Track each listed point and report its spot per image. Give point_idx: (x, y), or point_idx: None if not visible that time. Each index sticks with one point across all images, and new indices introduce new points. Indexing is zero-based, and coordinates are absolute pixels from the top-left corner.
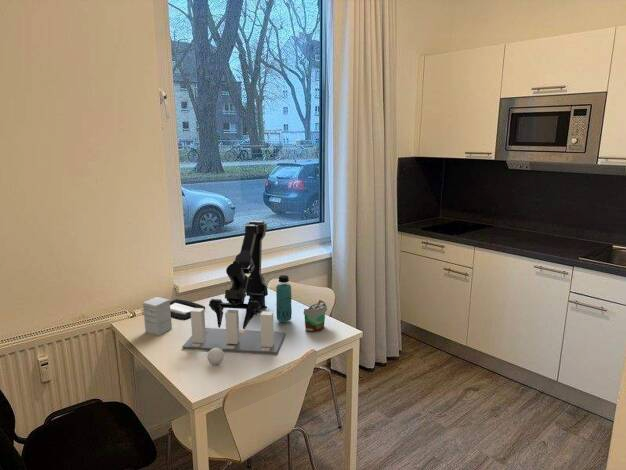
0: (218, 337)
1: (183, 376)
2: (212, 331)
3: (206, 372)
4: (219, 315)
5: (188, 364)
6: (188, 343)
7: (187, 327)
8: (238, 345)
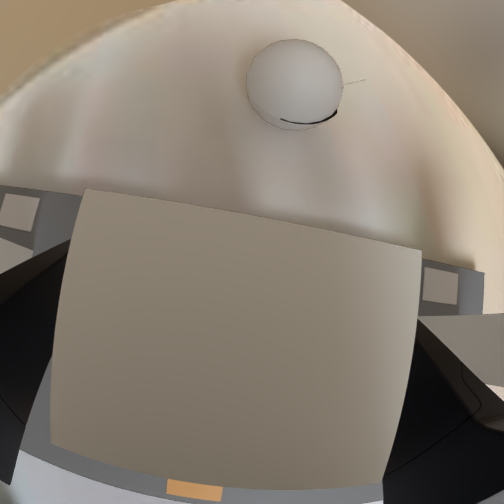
0: None
1: (382, 57)
2: None
3: None
4: (453, 384)
5: (405, 127)
6: (471, 307)
7: None
8: None
